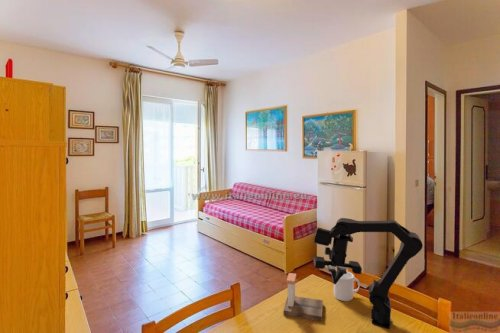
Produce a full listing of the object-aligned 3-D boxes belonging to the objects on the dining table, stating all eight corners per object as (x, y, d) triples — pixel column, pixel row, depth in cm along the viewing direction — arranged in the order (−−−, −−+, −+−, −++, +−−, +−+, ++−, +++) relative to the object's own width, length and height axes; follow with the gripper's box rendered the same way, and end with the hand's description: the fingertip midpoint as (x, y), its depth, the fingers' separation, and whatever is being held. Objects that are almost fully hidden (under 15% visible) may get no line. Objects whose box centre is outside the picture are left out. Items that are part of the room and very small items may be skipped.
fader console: (322, 304, 125) (322, 300, 125) (321, 321, 113) (321, 316, 113) (287, 299, 129) (287, 295, 129) (283, 315, 118) (283, 310, 117)
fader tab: (295, 298, 125) (296, 273, 124) (294, 307, 119) (294, 281, 118) (288, 297, 126) (288, 272, 125) (286, 306, 120) (286, 280, 119)
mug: (363, 301, 127) (364, 278, 126) (337, 302, 127) (338, 279, 126) (355, 290, 136) (355, 269, 135) (331, 292, 135) (331, 270, 134)
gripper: (357, 244, 124) (352, 277, 126) (314, 238, 126) (310, 271, 128) (364, 255, 113) (359, 291, 115) (317, 248, 115) (312, 284, 117)
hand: (334, 283), depth 119 cm, fingers closed
